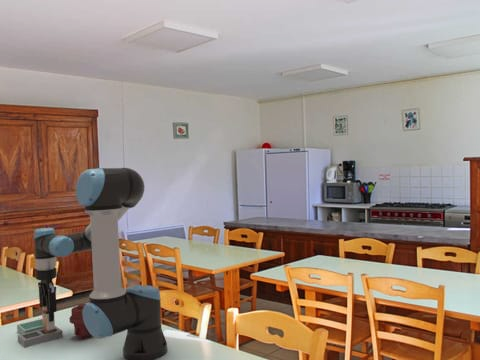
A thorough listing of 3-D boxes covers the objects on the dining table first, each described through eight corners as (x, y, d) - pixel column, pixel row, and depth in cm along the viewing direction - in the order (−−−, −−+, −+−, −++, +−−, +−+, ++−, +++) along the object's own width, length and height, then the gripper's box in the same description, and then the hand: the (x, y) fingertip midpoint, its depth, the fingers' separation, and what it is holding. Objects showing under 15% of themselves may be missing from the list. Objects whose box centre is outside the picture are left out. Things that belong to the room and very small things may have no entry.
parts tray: (51, 331, 182) (51, 324, 182) (25, 338, 175) (24, 330, 175) (42, 325, 189) (42, 318, 189) (17, 332, 182) (17, 324, 182)
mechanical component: (102, 332, 179) (89, 342, 169) (79, 331, 181) (65, 341, 171) (101, 301, 178) (87, 309, 169) (78, 301, 180) (63, 308, 171)
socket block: (62, 336, 175) (62, 330, 175) (24, 347, 166) (24, 340, 166) (55, 331, 181) (55, 325, 181) (17, 341, 172) (17, 335, 172)
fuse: (56, 336, 176) (55, 306, 175) (45, 339, 173) (44, 308, 172) (52, 334, 179) (51, 304, 178) (42, 337, 176) (40, 306, 176)
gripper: (64, 269, 171) (66, 330, 172) (48, 263, 184) (50, 320, 185) (43, 273, 166) (46, 336, 167) (28, 266, 179) (31, 325, 179)
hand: (48, 327), depth 176 cm, fingers closed on fuse, 4 cm apart
